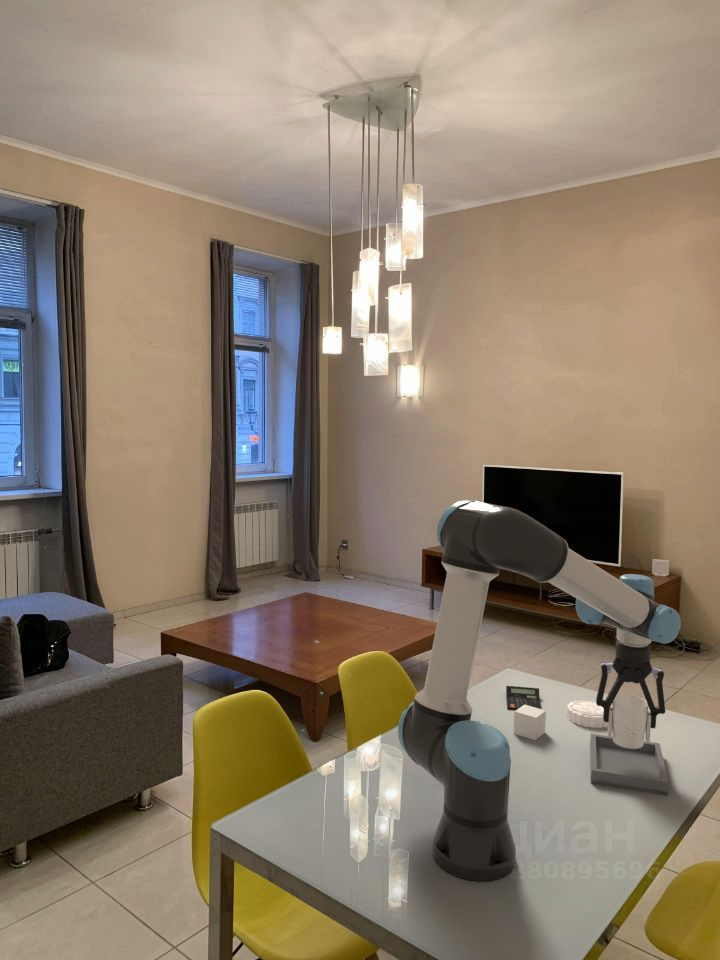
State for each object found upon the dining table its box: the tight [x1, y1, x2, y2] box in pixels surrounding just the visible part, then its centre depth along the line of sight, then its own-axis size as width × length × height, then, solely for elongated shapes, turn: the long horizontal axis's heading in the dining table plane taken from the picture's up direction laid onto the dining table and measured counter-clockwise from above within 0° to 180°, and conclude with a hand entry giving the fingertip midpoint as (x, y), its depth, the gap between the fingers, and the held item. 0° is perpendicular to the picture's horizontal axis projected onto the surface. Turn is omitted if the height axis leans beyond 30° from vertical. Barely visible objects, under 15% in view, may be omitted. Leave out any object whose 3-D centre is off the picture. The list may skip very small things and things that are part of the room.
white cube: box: [513, 705, 547, 741], centre depth 187 cm, size 6×6×6 cm
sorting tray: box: [589, 733, 670, 796], centre depth 169 cm, size 20×16×3 cm
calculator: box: [505, 685, 543, 711], centre depth 207 cm, size 9×12×3 cm
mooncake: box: [566, 699, 608, 729], centre depth 197 cm, size 12×12×4 cm
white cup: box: [611, 694, 649, 749], centre depth 168 cm, size 8×8×10 cm
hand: (628, 737), depth 169 cm, fingers closed on white cup, 8 cm apart
